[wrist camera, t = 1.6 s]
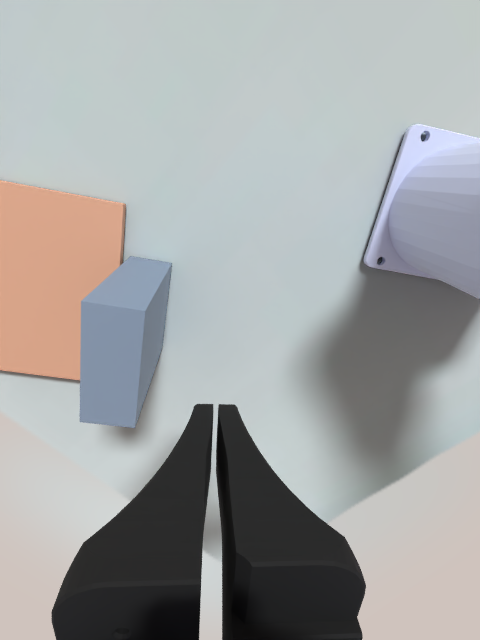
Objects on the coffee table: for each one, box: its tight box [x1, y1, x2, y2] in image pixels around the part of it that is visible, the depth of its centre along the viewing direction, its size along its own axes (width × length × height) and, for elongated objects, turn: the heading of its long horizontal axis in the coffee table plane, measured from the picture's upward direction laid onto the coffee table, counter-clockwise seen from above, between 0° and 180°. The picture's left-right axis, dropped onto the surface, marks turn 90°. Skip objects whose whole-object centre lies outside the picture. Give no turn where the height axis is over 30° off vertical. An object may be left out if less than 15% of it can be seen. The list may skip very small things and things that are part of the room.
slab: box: [80, 256, 172, 428], centre depth 18 cm, size 2×6×8 cm, turn 169°
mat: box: [0, 180, 126, 380], centre depth 21 cm, size 8×12×1 cm, turn 169°
